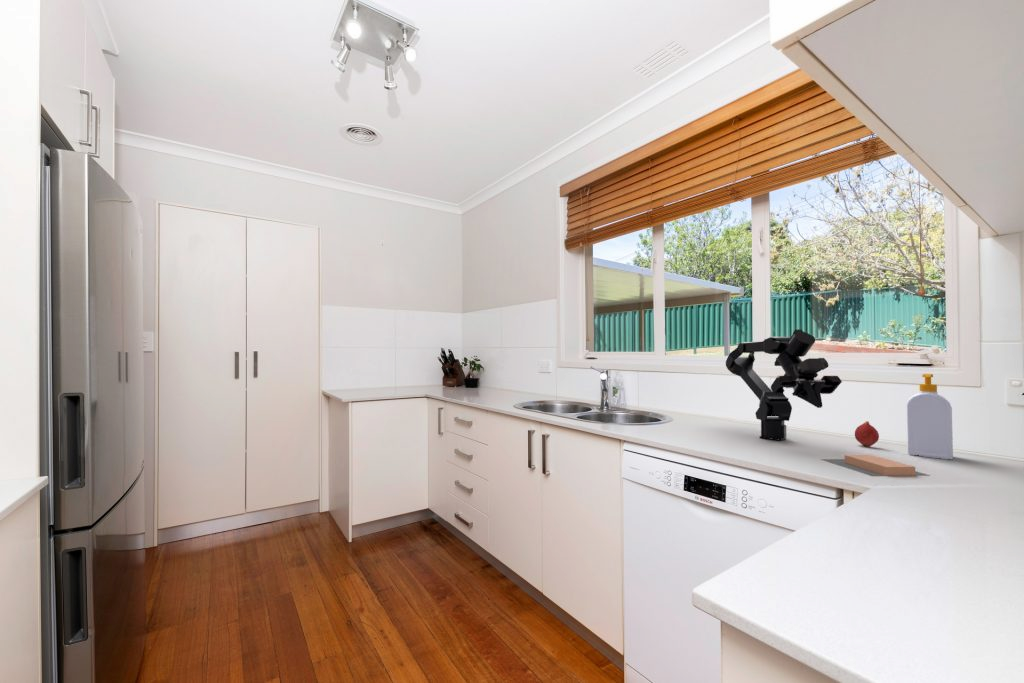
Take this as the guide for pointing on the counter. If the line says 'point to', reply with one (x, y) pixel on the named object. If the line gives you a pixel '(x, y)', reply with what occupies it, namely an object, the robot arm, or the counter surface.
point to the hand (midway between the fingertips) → (820, 406)
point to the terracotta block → (880, 465)
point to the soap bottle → (929, 423)
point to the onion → (866, 434)
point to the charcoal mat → (842, 463)
